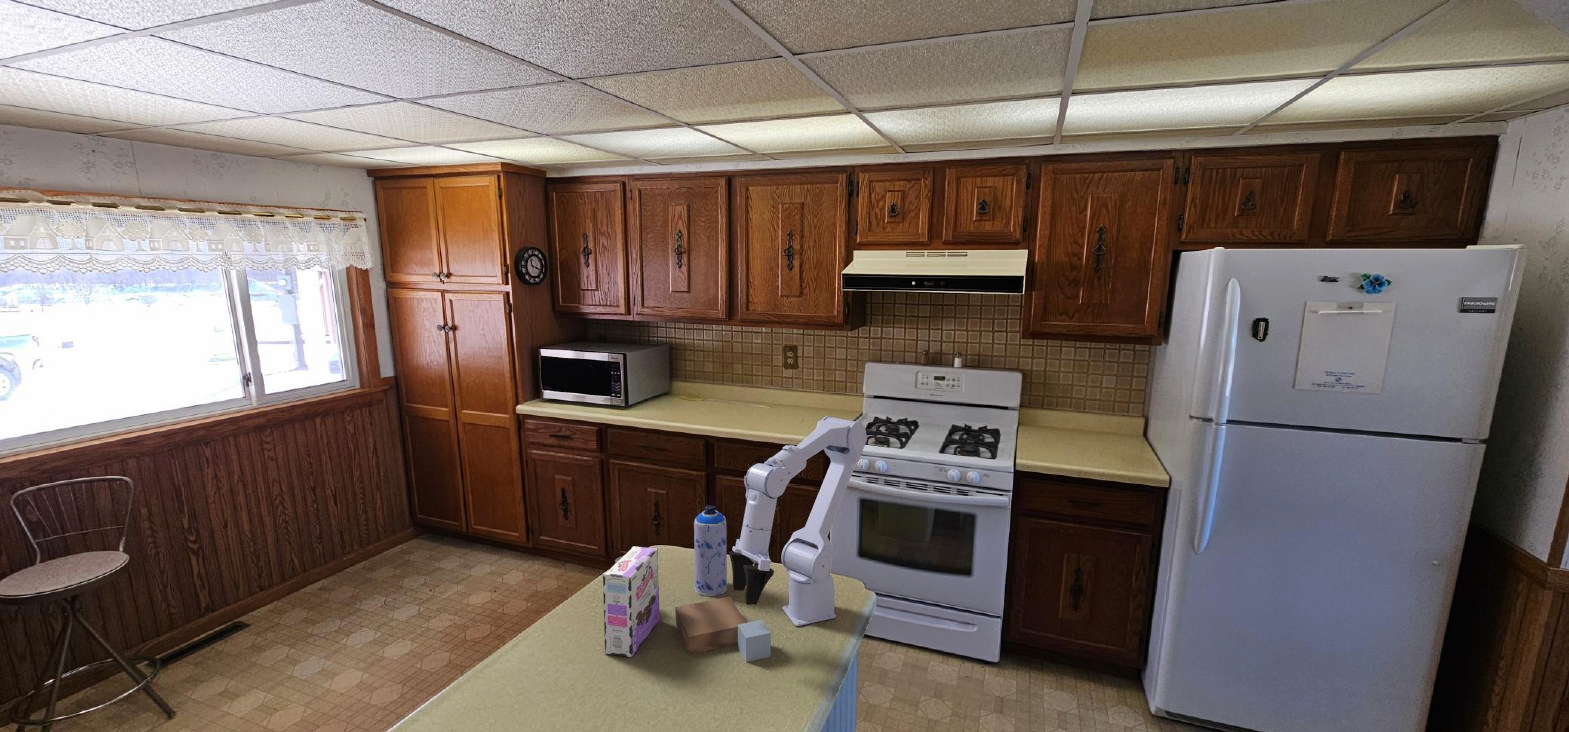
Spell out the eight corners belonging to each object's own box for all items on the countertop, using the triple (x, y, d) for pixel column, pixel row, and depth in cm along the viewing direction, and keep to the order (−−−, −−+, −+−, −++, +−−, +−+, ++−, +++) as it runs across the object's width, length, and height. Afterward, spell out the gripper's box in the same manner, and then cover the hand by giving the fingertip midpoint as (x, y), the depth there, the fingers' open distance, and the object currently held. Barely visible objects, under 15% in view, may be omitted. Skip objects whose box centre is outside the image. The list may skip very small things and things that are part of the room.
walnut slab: (730, 613, 135) (729, 596, 134) (747, 642, 124) (747, 624, 123) (675, 624, 130) (675, 606, 130) (688, 656, 119) (688, 636, 119)
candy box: (632, 658, 118) (629, 576, 116) (603, 654, 119) (601, 573, 117) (660, 620, 131) (659, 546, 129) (635, 617, 132) (633, 544, 130)
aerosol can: (732, 582, 148) (731, 502, 146) (721, 598, 141) (720, 514, 138) (701, 578, 150) (700, 499, 147) (689, 594, 142) (687, 511, 140)
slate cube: (761, 642, 123) (761, 619, 123) (770, 656, 119) (770, 632, 118) (737, 648, 121) (737, 624, 121) (745, 662, 117) (745, 637, 116)
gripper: (726, 515, 125) (714, 583, 124) (750, 534, 111) (736, 609, 110) (758, 519, 127) (747, 584, 127) (785, 537, 114) (772, 611, 113)
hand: (744, 596), depth 119 cm, fingers open, 7 cm apart
